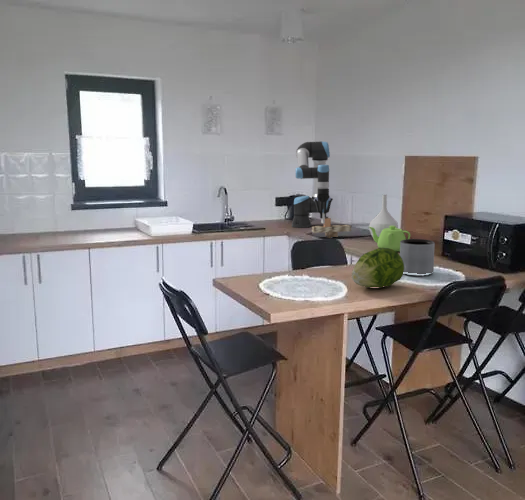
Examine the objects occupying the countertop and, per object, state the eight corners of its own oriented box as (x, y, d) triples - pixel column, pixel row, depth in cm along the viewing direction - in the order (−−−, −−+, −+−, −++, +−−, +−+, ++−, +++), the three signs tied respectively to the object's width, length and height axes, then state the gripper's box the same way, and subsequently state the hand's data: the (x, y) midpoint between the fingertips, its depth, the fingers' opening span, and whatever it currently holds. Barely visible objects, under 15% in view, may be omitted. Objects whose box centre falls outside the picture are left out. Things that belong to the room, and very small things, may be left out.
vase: (400, 239, 342) (402, 193, 336) (393, 243, 326) (395, 196, 321) (373, 237, 351) (374, 193, 345) (365, 241, 335) (366, 195, 329)
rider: (324, 228, 351) (325, 217, 350) (323, 228, 354) (323, 216, 353) (330, 228, 352) (330, 216, 350) (329, 227, 355) (329, 216, 353)
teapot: (414, 251, 303) (415, 226, 301) (385, 254, 296) (386, 229, 293) (394, 245, 320) (395, 222, 318) (367, 248, 313) (367, 225, 310)
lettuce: (341, 286, 231) (341, 251, 223) (382, 272, 240) (384, 238, 233) (367, 303, 217) (368, 266, 209) (409, 287, 226) (412, 251, 219)
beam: (314, 238, 349) (314, 227, 347) (311, 237, 356) (311, 226, 355) (351, 237, 353) (351, 226, 352) (347, 235, 361) (347, 224, 359)
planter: (431, 270, 257) (433, 239, 254) (434, 277, 241) (436, 245, 238) (398, 268, 260) (399, 238, 257) (399, 276, 245) (400, 244, 242)
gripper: (315, 188, 342) (315, 224, 347) (334, 188, 345) (333, 223, 349) (312, 188, 350) (312, 222, 354) (330, 187, 352) (330, 221, 357)
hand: (323, 223), depth 352 cm, fingers closed
